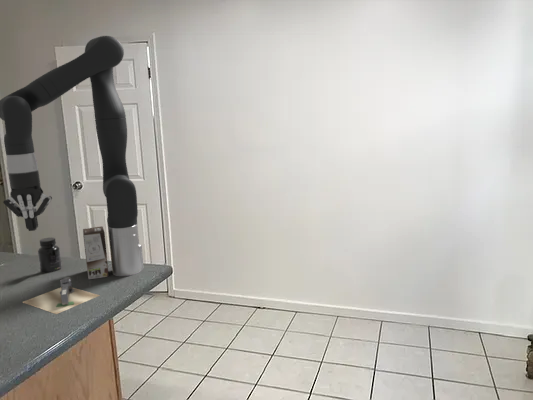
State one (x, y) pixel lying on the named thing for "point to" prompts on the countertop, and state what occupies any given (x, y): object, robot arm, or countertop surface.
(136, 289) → the countertop surface
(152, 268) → the countertop surface
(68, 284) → the tuning lever
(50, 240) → the supplement bottle
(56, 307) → the board
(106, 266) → the coffee box
